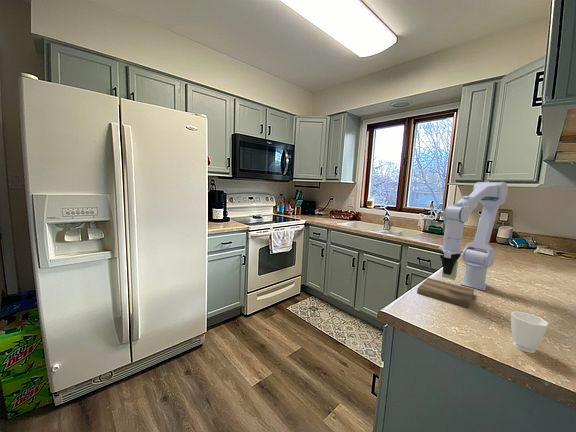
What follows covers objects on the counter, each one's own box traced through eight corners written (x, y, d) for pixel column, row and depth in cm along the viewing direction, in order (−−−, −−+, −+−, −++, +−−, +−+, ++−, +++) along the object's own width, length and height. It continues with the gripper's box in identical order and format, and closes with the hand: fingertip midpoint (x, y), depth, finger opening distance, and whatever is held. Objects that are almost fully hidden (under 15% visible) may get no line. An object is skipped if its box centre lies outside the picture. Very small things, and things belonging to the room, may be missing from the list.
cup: (507, 348, 62) (512, 318, 61) (502, 330, 70) (507, 304, 69) (547, 361, 57) (553, 329, 56) (536, 340, 66) (542, 312, 65)
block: (443, 274, 95) (445, 259, 95) (456, 277, 93) (458, 262, 92) (441, 276, 92) (443, 261, 92) (454, 280, 90) (456, 264, 89)
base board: (427, 282, 105) (427, 277, 105) (473, 294, 94) (474, 289, 94) (417, 292, 93) (417, 287, 93) (468, 308, 82) (469, 302, 82)
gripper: (444, 234, 99) (440, 266, 101) (436, 238, 88) (431, 274, 90) (465, 237, 94) (460, 270, 96) (459, 242, 84) (454, 279, 85)
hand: (448, 272), depth 93 cm, fingers closed on block, 4 cm apart
